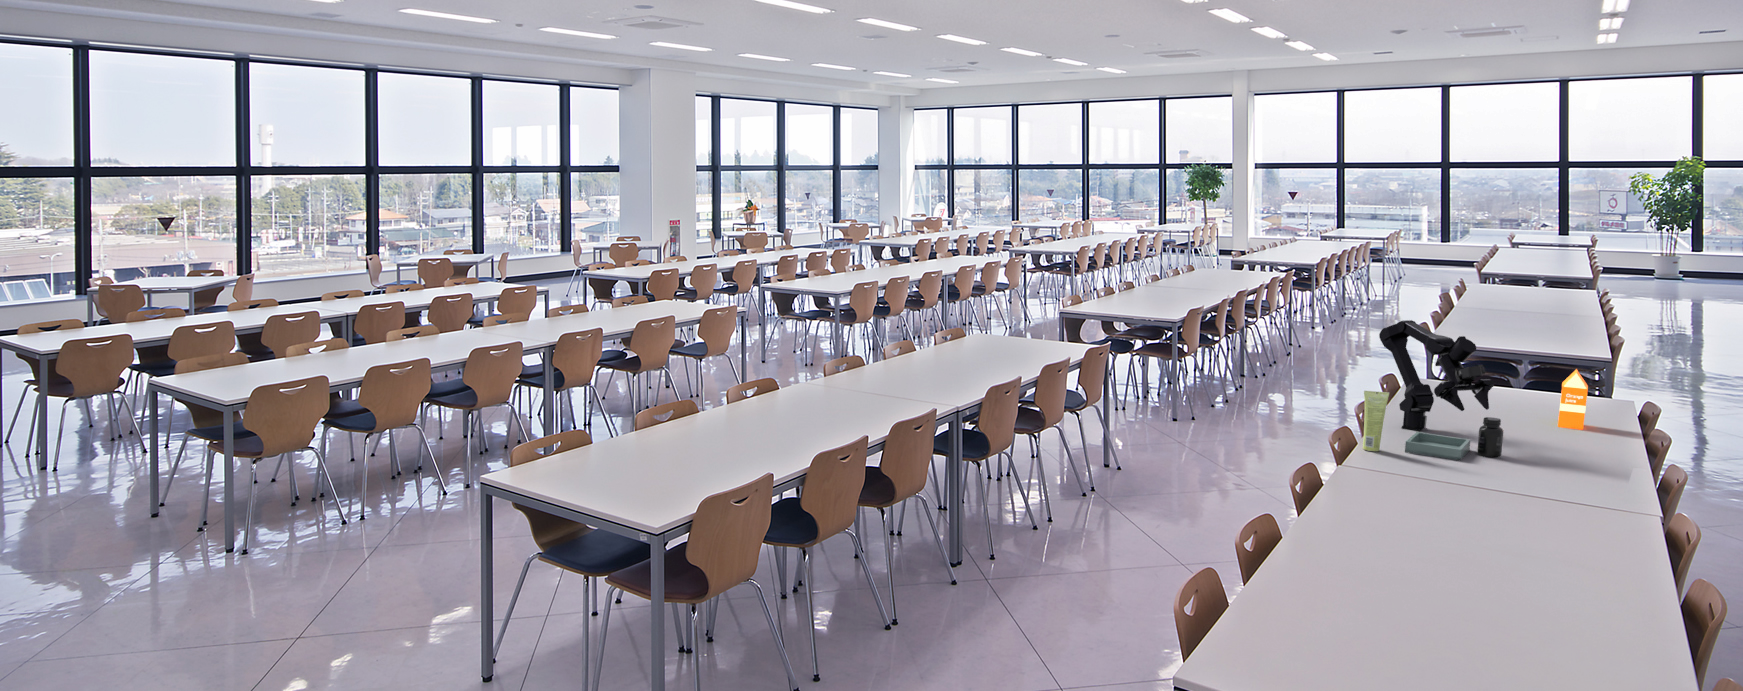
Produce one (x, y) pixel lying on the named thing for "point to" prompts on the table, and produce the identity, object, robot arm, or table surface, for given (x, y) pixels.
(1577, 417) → the orange juice
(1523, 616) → the table surface
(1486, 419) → the supplement bottle
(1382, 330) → the robot arm
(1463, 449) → the tray
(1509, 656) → the table surface
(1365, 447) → the tube
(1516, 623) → the table surface
